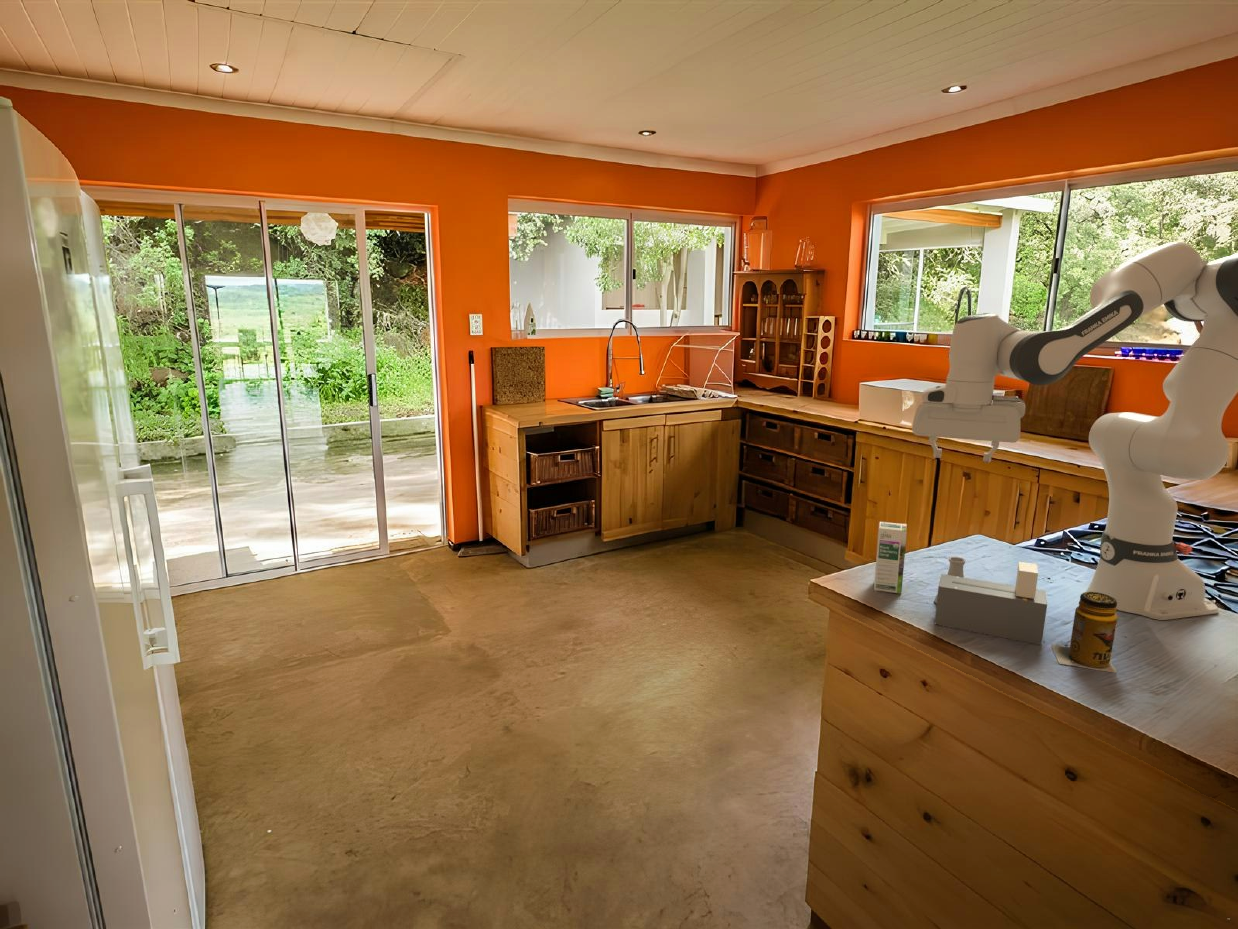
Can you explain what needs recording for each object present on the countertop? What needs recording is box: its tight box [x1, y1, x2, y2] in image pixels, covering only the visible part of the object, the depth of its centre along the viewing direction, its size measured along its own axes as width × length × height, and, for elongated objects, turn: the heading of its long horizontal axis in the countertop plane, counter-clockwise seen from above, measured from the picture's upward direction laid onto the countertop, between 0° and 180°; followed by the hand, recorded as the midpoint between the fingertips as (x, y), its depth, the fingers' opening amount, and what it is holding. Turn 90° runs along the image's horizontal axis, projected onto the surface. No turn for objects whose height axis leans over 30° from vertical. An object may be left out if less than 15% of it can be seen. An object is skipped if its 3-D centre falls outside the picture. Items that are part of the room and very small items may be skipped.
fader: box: [1015, 561, 1039, 599], centre depth 129 cm, size 3×5×5 cm, turn 151°
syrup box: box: [873, 521, 908, 595], centre depth 151 cm, size 6×6×14 cm
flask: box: [933, 556, 967, 605], centre depth 143 cm, size 7×7×10 cm
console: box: [934, 573, 1048, 646], centre depth 133 cm, size 18×7×8 cm, turn 61°
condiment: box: [1051, 591, 1118, 673], centre depth 120 cm, size 7×8×12 cm
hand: (961, 459), depth 145 cm, fingers open, 8 cm apart
